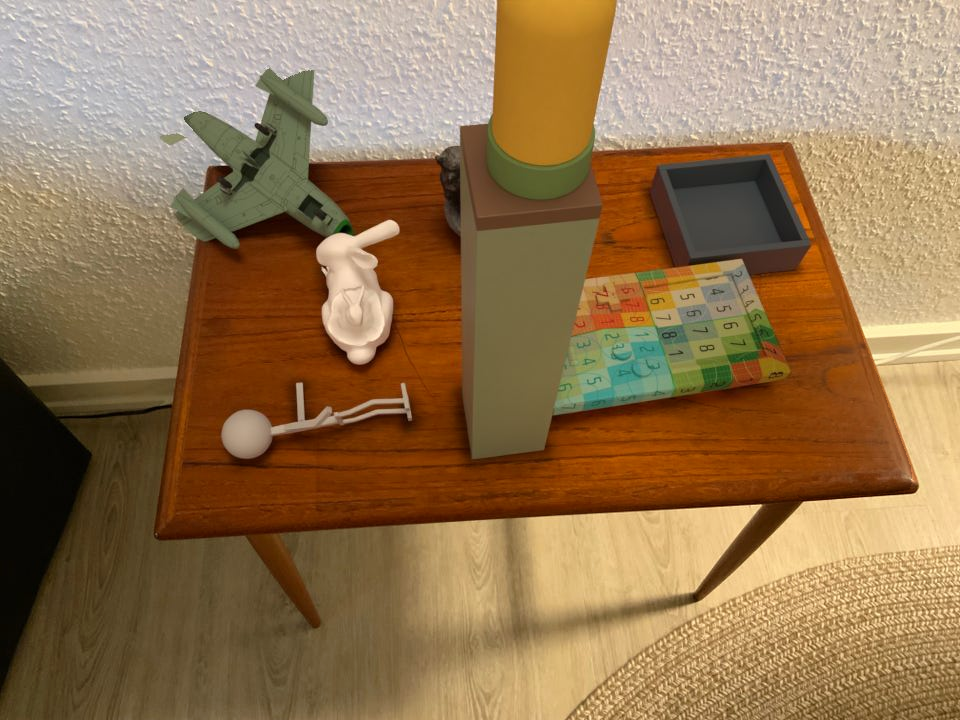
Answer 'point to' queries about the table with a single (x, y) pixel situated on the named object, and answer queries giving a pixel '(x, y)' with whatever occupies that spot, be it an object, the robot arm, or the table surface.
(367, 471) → the table surface
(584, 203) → the plinth
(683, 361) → the puzzle game
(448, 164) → the cat statue
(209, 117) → the airplane
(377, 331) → the rabbit figurine
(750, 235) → the basket
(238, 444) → the figurine
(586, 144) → the corn toy
